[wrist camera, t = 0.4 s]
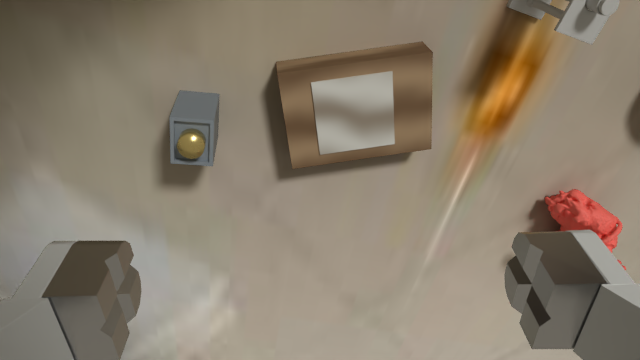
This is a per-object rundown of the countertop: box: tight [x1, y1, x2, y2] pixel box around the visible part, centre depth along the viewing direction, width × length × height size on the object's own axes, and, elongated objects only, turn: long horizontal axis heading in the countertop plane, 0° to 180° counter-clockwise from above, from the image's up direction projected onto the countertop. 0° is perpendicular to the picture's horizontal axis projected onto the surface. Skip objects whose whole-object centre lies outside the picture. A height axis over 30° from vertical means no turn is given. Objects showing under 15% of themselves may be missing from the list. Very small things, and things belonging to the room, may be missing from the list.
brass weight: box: [177, 128, 206, 159], centre depth 52 cm, size 3×3×2 cm
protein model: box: [545, 189, 626, 271], centre depth 68 cm, size 9×12×12 cm
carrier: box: [170, 90, 219, 166], centre depth 56 cm, size 6×4×8 cm
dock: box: [276, 42, 433, 169], centre depth 58 cm, size 12×17×4 cm
